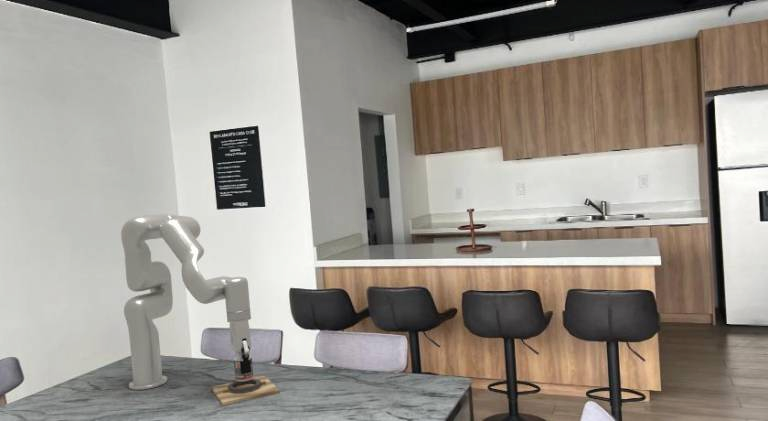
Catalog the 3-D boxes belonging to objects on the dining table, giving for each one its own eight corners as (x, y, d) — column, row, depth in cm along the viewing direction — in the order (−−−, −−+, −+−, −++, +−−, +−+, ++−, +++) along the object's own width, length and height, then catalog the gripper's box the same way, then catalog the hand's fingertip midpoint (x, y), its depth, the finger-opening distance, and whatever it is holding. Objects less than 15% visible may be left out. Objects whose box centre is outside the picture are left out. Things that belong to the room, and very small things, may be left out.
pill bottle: (248, 381, 184) (246, 351, 184) (232, 382, 185) (229, 351, 185) (256, 376, 190) (253, 346, 189) (240, 376, 191) (237, 346, 190)
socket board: (211, 389, 192) (211, 382, 191) (264, 378, 200) (264, 371, 200) (222, 405, 175) (221, 397, 175) (279, 392, 183) (279, 385, 183)
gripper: (221, 313, 193) (226, 366, 193) (232, 321, 177) (238, 379, 178) (244, 310, 196) (249, 362, 197) (256, 317, 181) (261, 374, 181)
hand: (243, 369), depth 187 cm, fingers closed on pill bottle, 5 cm apart
